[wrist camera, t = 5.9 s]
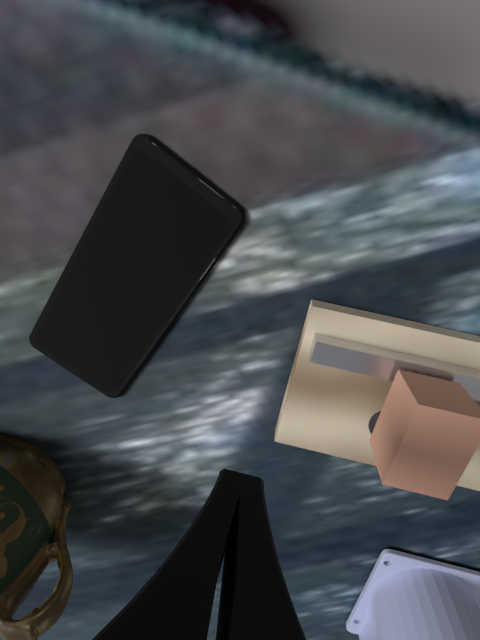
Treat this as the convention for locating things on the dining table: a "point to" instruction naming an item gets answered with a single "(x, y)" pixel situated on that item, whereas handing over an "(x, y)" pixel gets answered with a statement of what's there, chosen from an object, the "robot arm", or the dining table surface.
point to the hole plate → (359, 382)
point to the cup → (31, 536)
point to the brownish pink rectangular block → (425, 434)
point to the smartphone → (135, 266)
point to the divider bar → (388, 362)
